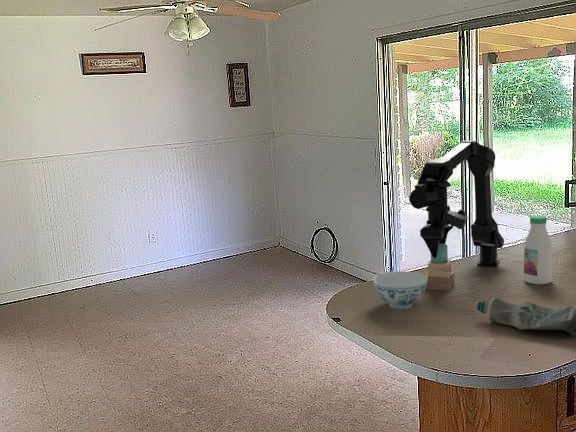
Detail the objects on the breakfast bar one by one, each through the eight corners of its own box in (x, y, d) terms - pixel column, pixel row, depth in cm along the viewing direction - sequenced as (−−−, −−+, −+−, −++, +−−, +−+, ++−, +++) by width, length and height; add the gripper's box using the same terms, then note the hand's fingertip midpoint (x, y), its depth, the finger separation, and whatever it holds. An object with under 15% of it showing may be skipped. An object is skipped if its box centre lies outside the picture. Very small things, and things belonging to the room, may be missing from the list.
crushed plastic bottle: (589, 325, 149) (487, 308, 163) (590, 298, 147) (487, 283, 161) (577, 349, 139) (470, 328, 153) (578, 320, 137) (469, 302, 151)
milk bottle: (546, 277, 188) (547, 213, 184) (555, 284, 180) (556, 218, 177) (520, 278, 189) (521, 215, 185) (528, 285, 181) (528, 220, 177)
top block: (431, 270, 190) (431, 258, 189) (451, 271, 188) (451, 259, 187) (428, 276, 185) (427, 263, 184) (448, 277, 182) (448, 264, 181)
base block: (430, 282, 192) (430, 269, 191) (454, 284, 188) (454, 271, 187) (424, 289, 185) (423, 276, 184) (448, 291, 182) (448, 278, 181)
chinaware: (428, 314, 163) (428, 287, 162) (372, 314, 166) (371, 287, 165) (427, 296, 178) (426, 271, 176) (375, 296, 181) (374, 271, 179)
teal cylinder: (433, 258, 189) (432, 243, 188) (449, 259, 186) (448, 243, 186) (429, 263, 184) (428, 247, 183) (445, 264, 182) (445, 247, 181)
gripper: (458, 209, 170) (459, 263, 173) (471, 198, 186) (471, 247, 189) (418, 208, 175) (420, 261, 178) (435, 197, 191) (436, 245, 194)
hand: (438, 253), depth 185 cm, fingers open, 9 cm apart
